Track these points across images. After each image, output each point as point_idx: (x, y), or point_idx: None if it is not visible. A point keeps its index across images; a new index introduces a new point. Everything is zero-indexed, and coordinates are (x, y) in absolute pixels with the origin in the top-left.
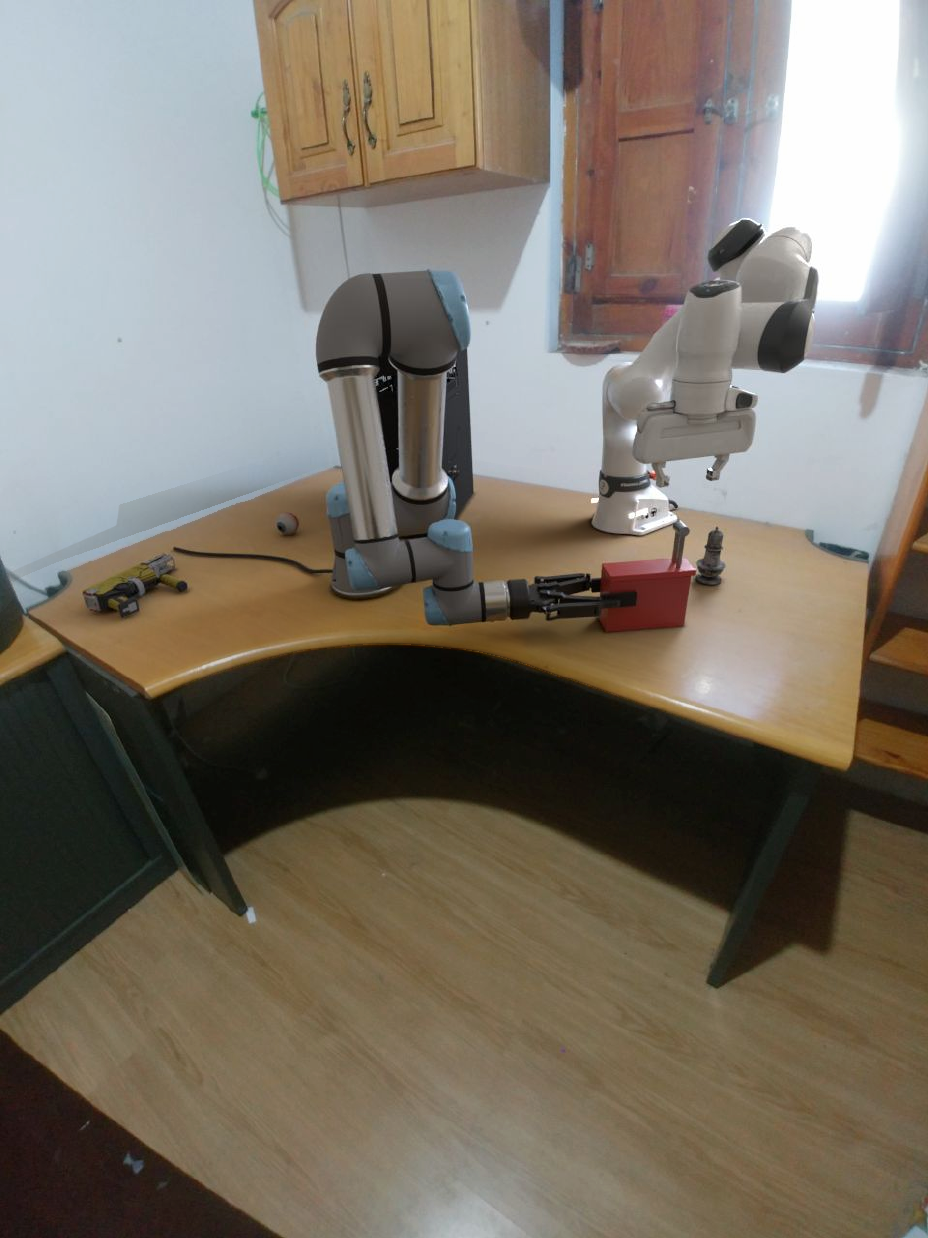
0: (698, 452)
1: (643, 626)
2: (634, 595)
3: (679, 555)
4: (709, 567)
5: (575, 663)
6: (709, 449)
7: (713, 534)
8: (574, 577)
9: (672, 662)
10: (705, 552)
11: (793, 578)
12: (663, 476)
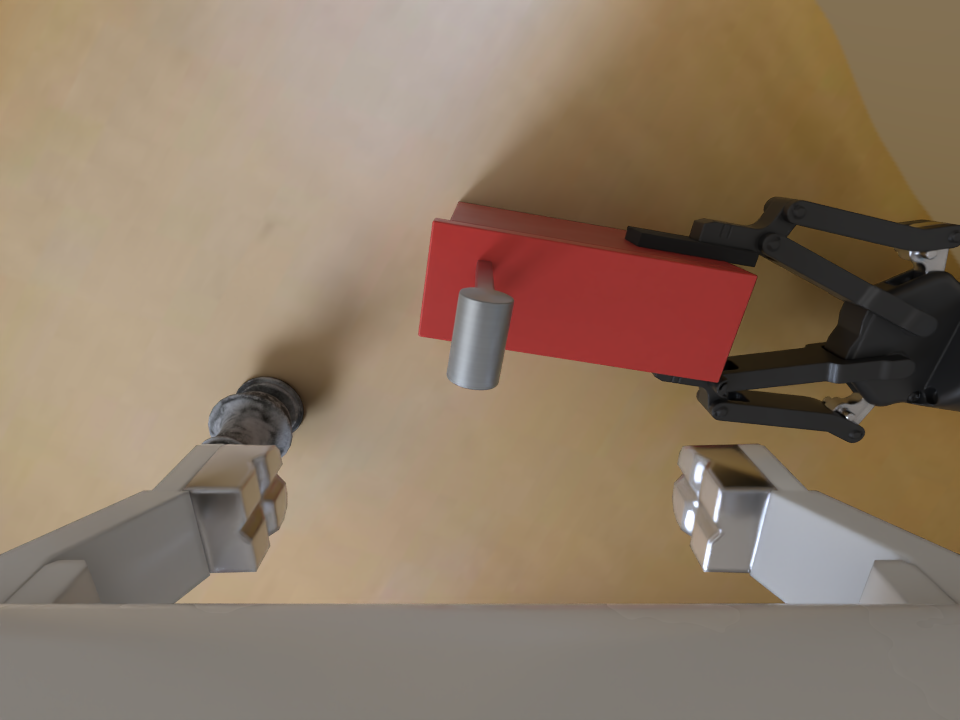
0: (471, 664)
1: (573, 222)
2: (647, 233)
3: (491, 271)
4: (266, 409)
5: (839, 111)
6: (240, 694)
7: None
8: (749, 403)
9: (594, 23)
10: None
11: (33, 345)
12: (806, 495)
